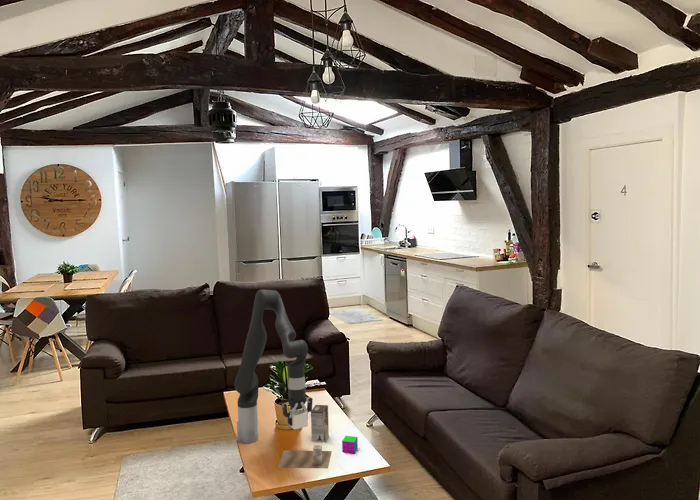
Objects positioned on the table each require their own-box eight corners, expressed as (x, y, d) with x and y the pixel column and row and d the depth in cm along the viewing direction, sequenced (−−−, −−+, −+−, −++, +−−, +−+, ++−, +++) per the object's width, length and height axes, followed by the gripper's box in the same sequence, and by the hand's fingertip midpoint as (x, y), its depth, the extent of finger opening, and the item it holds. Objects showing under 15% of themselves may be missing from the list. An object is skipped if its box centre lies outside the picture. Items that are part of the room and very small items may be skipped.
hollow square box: (294, 429, 235) (294, 416, 235) (288, 424, 241) (287, 411, 240) (307, 426, 239) (307, 412, 238) (301, 421, 244) (300, 408, 244)
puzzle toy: (357, 448, 255) (357, 436, 254) (354, 454, 249) (354, 442, 249) (345, 447, 256) (345, 435, 256) (342, 452, 251) (342, 440, 250)
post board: (276, 470, 235) (276, 451, 234) (283, 453, 251) (283, 435, 250) (328, 471, 233) (327, 452, 233) (331, 454, 249) (331, 436, 249)
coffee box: (316, 436, 269) (315, 404, 267) (329, 436, 268) (328, 404, 266) (311, 444, 260) (310, 411, 258) (324, 445, 259) (323, 412, 257)
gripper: (285, 391, 231) (286, 430, 233) (315, 385, 239) (316, 422, 240) (277, 387, 238) (279, 424, 239) (307, 380, 245) (308, 417, 247)
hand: (298, 423), depth 240 cm, fingers closed on hollow square box, 6 cm apart
